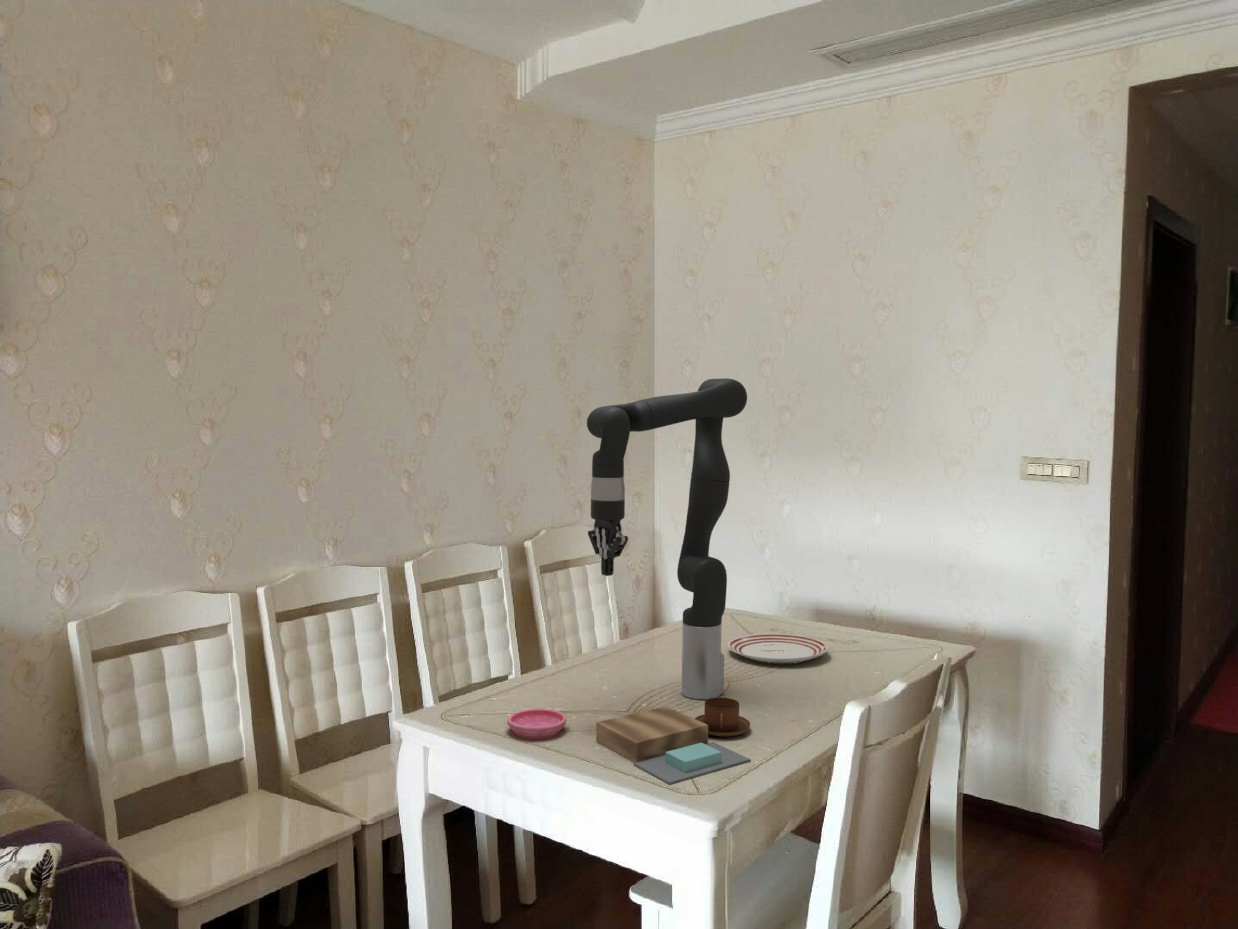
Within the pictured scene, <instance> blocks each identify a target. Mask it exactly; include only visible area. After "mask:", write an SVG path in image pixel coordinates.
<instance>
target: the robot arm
mask: <svg viewBox="0 0 1238 929" xmlns="http://www.w3.org/2000/svg"><path fill="white" fill-rule="evenodd" d="M747 401H748V393H747V390H746V388H745V386H744V385H743V384H742V383H741V382H740V381H738V380H736V379H733V378H729V377H728V378H709V379H706V380H704V381H703V382H702V383H700V385H699V387H698V389H697V391H693V392H688V393H687V392H686V393H680V394H679V393H678V394H677V393H676V394H668V395H660V396H653V397H649V398H643V399H639V400H636V401H631V402H628V403H620V404H611V405H605V406H600V407H597V408H595V409H593V410H592V411H591V412H590V413H589V415H588V416H587V418H586V428H587V430H588V431H589V433H590V434H591V435H592V436H594V437H595V438H597V439H601V440H600V444H599V445H600V446H599V450H597V451H595V452H594V453H593V454H592V458H591V459H592V460H591V461H592V463H591V471H592V472H591V485H590V518H591V519H592V520H594V523H593V528H592V529H591V530H588V531H587V535H588V538H589V541H590V543H591V545H592V548H593V551H594V554H595V555H598V557H599V558H600V559H601V560H600V562H601V563H600V566H601V567H600V571H601V575H602V576H604V577H605V576H606V577H609V576H610V577H611V576H613V575H614V571H615V570H614V565H615V564H614V563H615V561H614V560H615V559H616V558H618V557H620V556H621V555H622V552H623V550H624V548H625V547H626V545H627V543H628V540H629V537H628V536H627V535H624V534H623V533H622V525H621V522H622V520H624V519H625V513H626V512H625V511H626V508H625V507H626V506H625V504H626V501H625V500H626V496H625V495H626V493H625V492H626V486H625V485H626V484H625V467H624V466H625V455H626V451H627V449H628V448H627V447H628V443H629V438H630V435H631V433H632V432H636V433H637V432H638V433H639V432H645V431H651V430H656V429H659V428H663V427H667V426H671V425H675V424H679V423H683V422H688V421H692V420H695V434H694V437H695V438H694V446H693V448H694V449H693V458H692V467H691V468H692V469H691V474H690V482H689V491H688V492H689V493H688V505H687V513H686V520H685V521H686V522H685V529H684V534H683V539H682V540H683V541H682V544H681V550H680V554H679V559H678V563H677V571H676V572H677V574H676V575H677V581H678V583H679V585H680V587H681V588H682V589H684V590H685V591H688V592H691V593H693V595H692V605H691V606H690V607H688V608H685V609H684V610H683V611H682V641H681V643H682V646H681V647H682V649H681V650H682V652H681V654H682V657H681V694H682V695H683V696H684V697H686V698H688V699H694V700H707V699H710V698H718V697H720V696H721V695H722V694H724V692H725V691H724V690H725V688H724V686H725V654H724V653H722V620H723V615H724V612H725V610H726V604H727V603H726V601H727V586H728V584H727V583H728V577H727V576H728V575H727V569H726V567H725V565H724V563H723V562H722V561H721V560H719V559H718V558H716V557H712V556H709V554H710V543H711V537H712V533H713V531H714V529H715V526H716V525H717V523H718V521H719V519H720V518H721V516H722V514H723V513H724V511H725V508H726V505H727V503H728V499H729V491H730V490H729V489H730V482H731V481H730V480H731V473H730V472H731V470H730V467H729V463H728V459H727V456H726V453H725V450H724V445H723V441H722V439H723V436H722V434H723V433H722V432H723V423H724V418H734V417H735V416H738V415H739V414H741V413H742V412H743V410H744V409H745V407H746V405H747Z"/></svg>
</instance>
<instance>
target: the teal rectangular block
mask: <svg viewBox="0 0 1238 929" xmlns="http://www.w3.org/2000/svg"><path fill="white" fill-rule="evenodd" d="M721 758H722V752H720V751H718V750H716V749H714V748H712V747H710V746H708V745H706V744H703V743H698V744H694V745H690V746H687V747H683V748H679V749H675V750H671V751H667V752H665V762H666V763H668V764H670V765H672V766H674V767H675V768H677V769H679V770H681V771H683V772H688V771H692V770H695V769H699V768H703V767H706V766H710V765H713V764H717V763H720V762H721Z"/></svg>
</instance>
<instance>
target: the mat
mask: <svg viewBox="0 0 1238 929" xmlns="http://www.w3.org/2000/svg"><path fill="white" fill-rule="evenodd" d="M706 745H708V746H710V747H712V748H714V749H716V750H718V751H720V752H722V758H721V762H720V763H717V764H713V765H710V766H706V767H703V768H699V769H695V770H692V771H688V772H683V771H681V770H679V769H677V768H675V767H674V766H672V765H670V764H668V763H666V762H665V755H663V756H659V757H655V758H651V759H648V760H644V761H640V762H636V763H635V762H633V766H635V768H637V769H640V770H641V771H643V772H646V773H647V774H649V775H651V776H653V777H654V778H656V779H658V780H660V779H661V780H660V781H662V780H663V781H665V782H666V784H667V783H668V784H667V785H669V784H670V785H672V784H671V783H673V784H676V783H675V782H677V783H680V782H682V781H683V780H684V781H685V779H686V780H690V779H694V778H697V777H700V776H704V775H708V774H711V773H714V772H719V771H721V770H724V769H727V768H728V767H729V768H731V767H736V766H739V765H742V764H745V763H749V762H751V758H749V757H747V756H745V755H743V754H740V753H738V752H736V751H733V750H731V749H730V748H727V747H725V746H723V745H720V744H719V743H717V742H715V741H713V742H708V744H706ZM707 773H708V774H707ZM663 781H662V782H663ZM679 781H680V782H679ZM684 781H683V782H684ZM665 782H664V783H665Z"/></svg>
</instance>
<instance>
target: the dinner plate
mask: <svg viewBox="0 0 1238 929" xmlns="http://www.w3.org/2000/svg"><path fill="white" fill-rule="evenodd" d="M770 644H774V645H772V646H770ZM775 644H777V645H775ZM764 645H767V646H764ZM768 645H769V646H768ZM779 645H780V646H779ZM782 645H783V646H782ZM727 648H728V649H729V650H730V651H732V652H733V653H735V654H737V655H739V656H742V657H744V658H748V659H749V658H750V659H749V660H752V659H753V660H752V661H755V660H757V661H756V662H759V661H761V662H760V663H764V662H770V663H769V664H771V663H794V662H801V661H805V662H807V661H810V660H812V659H813V660H814V659H817V658H819V657H820V656H824V654H826V653H827V652H828V651H829V646H828V644H827V643H826V642H824V641H822V640H819V639H817V638H815V637H814V638H813V637H811V636H804V635H798V634H791V633H789V634H788V633H756V634H754V633H753V634H749V635H743V636H738V637H736V638H733V639H731V640H729V641H728V642H727ZM758 650H759V651H758ZM760 650H761V651H760ZM762 650H776V651H773V652H771V651H770V652H768V651H767V652H766V651H765V652H764V651H763V652H762ZM777 650H784V652H783V651H777ZM789 650H791V651H789ZM806 660H807V661H806ZM801 663H802V662H801Z"/></svg>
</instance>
